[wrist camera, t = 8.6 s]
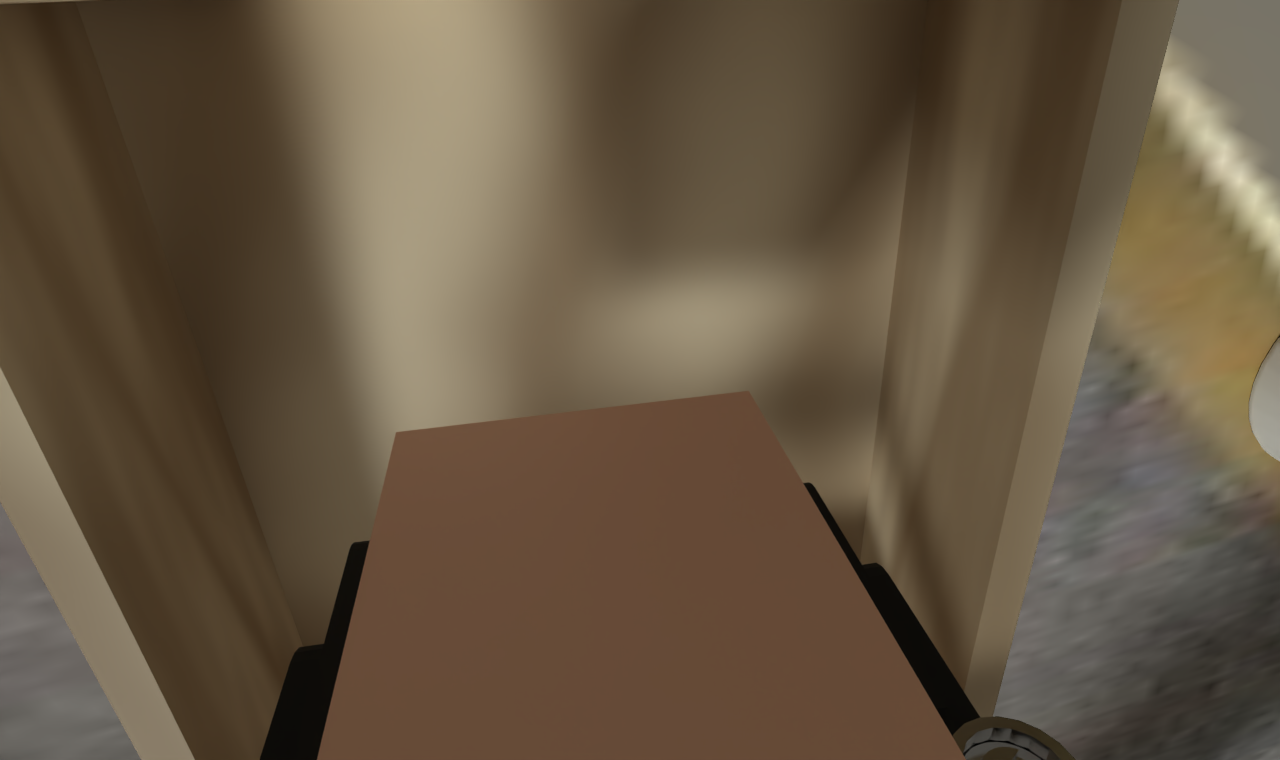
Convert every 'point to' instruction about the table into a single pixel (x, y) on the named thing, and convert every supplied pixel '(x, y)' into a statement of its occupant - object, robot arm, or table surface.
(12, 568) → the table surface
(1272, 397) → the mug
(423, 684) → the block
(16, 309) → the cart
